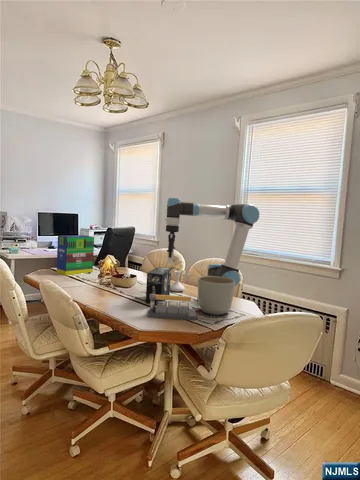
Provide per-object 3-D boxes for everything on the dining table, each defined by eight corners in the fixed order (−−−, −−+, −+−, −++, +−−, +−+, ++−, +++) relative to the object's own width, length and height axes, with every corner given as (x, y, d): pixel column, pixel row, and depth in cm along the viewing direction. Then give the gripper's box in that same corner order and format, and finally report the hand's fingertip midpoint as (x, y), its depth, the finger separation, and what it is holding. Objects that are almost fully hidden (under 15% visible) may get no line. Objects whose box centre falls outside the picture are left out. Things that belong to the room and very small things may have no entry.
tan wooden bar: (149, 299, 182) (149, 295, 182) (149, 297, 186) (149, 293, 186) (190, 302, 183) (191, 297, 183) (190, 300, 186) (190, 296, 186)
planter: (205, 304, 210) (208, 274, 208) (237, 311, 199) (240, 279, 198) (189, 312, 192) (191, 279, 190) (223, 320, 181) (226, 285, 180)
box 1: (83, 270, 295) (84, 235, 292) (92, 272, 286) (94, 237, 284) (56, 272, 276) (57, 235, 273) (65, 275, 267) (67, 237, 265)
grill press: (194, 312, 192) (195, 299, 192) (195, 320, 178) (196, 306, 178) (150, 309, 192) (150, 296, 191) (148, 317, 178) (148, 303, 177)
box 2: (161, 305, 202) (163, 274, 200) (144, 303, 203) (146, 272, 202) (170, 296, 224) (171, 268, 223) (155, 294, 226) (157, 266, 225)
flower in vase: (184, 289, 248) (186, 255, 246) (185, 293, 236) (187, 257, 234) (166, 288, 247) (168, 254, 245) (166, 291, 236) (168, 256, 234)
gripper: (167, 223, 209) (165, 258, 211) (164, 225, 184) (162, 264, 186) (179, 224, 209) (177, 258, 211) (178, 226, 184) (176, 265, 186)
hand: (170, 261), depth 198 cm, fingers open, 13 cm apart
